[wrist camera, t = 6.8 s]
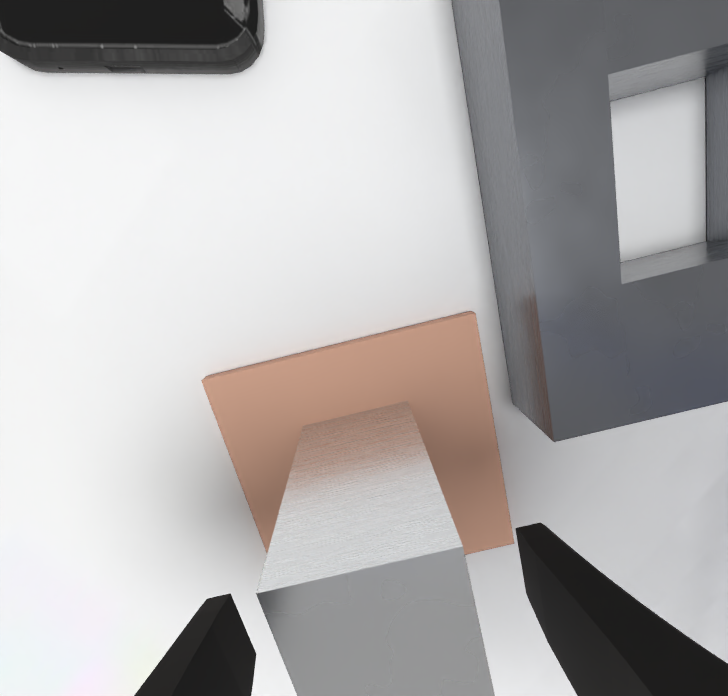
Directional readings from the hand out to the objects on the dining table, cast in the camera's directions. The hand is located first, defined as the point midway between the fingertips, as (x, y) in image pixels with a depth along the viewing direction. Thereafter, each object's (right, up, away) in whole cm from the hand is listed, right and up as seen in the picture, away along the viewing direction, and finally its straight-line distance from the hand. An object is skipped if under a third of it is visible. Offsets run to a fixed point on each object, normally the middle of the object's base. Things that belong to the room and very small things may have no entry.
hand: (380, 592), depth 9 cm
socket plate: (+9, +12, +3) cm, 15 cm away
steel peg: (0, +2, +5) cm, 5 cm away
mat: (0, +1, +6) cm, 6 cm away
